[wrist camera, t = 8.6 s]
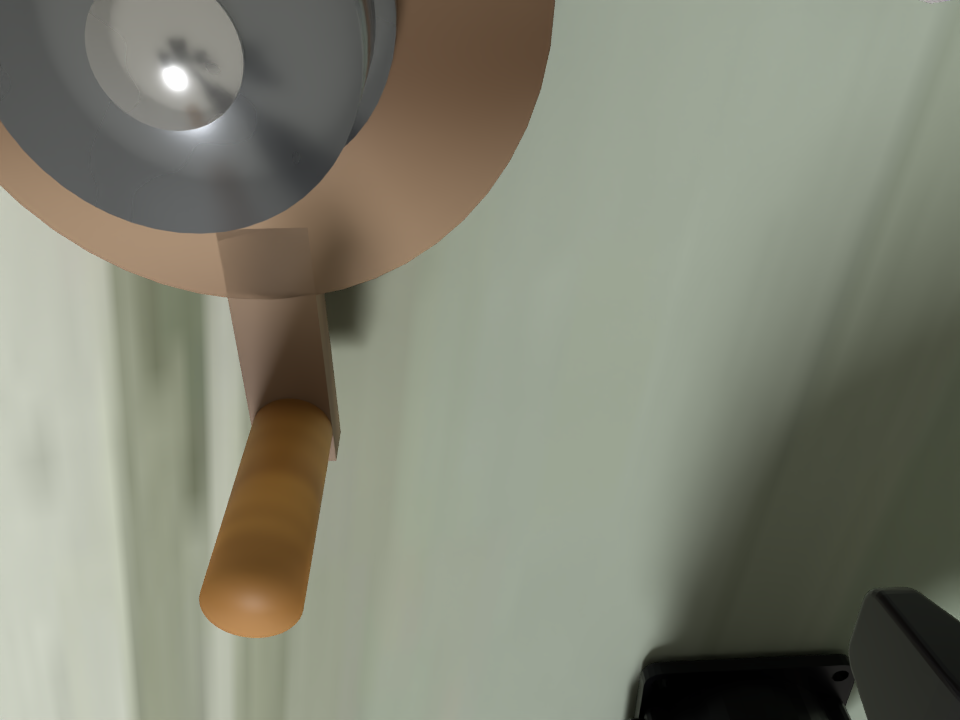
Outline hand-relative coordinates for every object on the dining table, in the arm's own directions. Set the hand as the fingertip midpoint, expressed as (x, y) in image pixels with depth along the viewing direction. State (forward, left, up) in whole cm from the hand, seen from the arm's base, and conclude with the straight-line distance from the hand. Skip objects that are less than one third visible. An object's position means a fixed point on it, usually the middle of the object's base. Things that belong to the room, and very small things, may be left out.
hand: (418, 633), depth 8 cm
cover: (+3, -5, -8) cm, 10 cm away
